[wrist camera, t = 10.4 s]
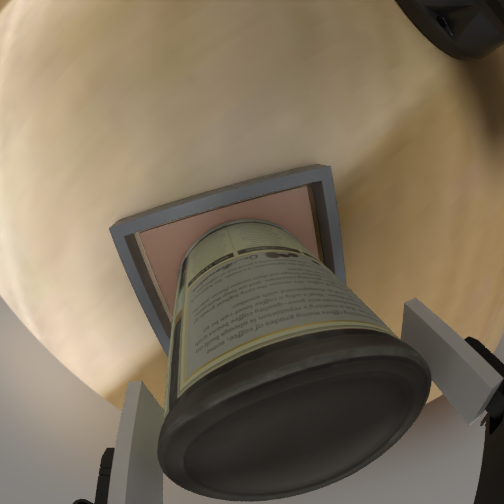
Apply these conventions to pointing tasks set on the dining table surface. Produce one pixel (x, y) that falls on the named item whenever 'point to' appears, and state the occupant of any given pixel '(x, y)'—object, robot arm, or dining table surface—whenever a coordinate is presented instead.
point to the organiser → (190, 229)
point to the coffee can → (277, 371)
